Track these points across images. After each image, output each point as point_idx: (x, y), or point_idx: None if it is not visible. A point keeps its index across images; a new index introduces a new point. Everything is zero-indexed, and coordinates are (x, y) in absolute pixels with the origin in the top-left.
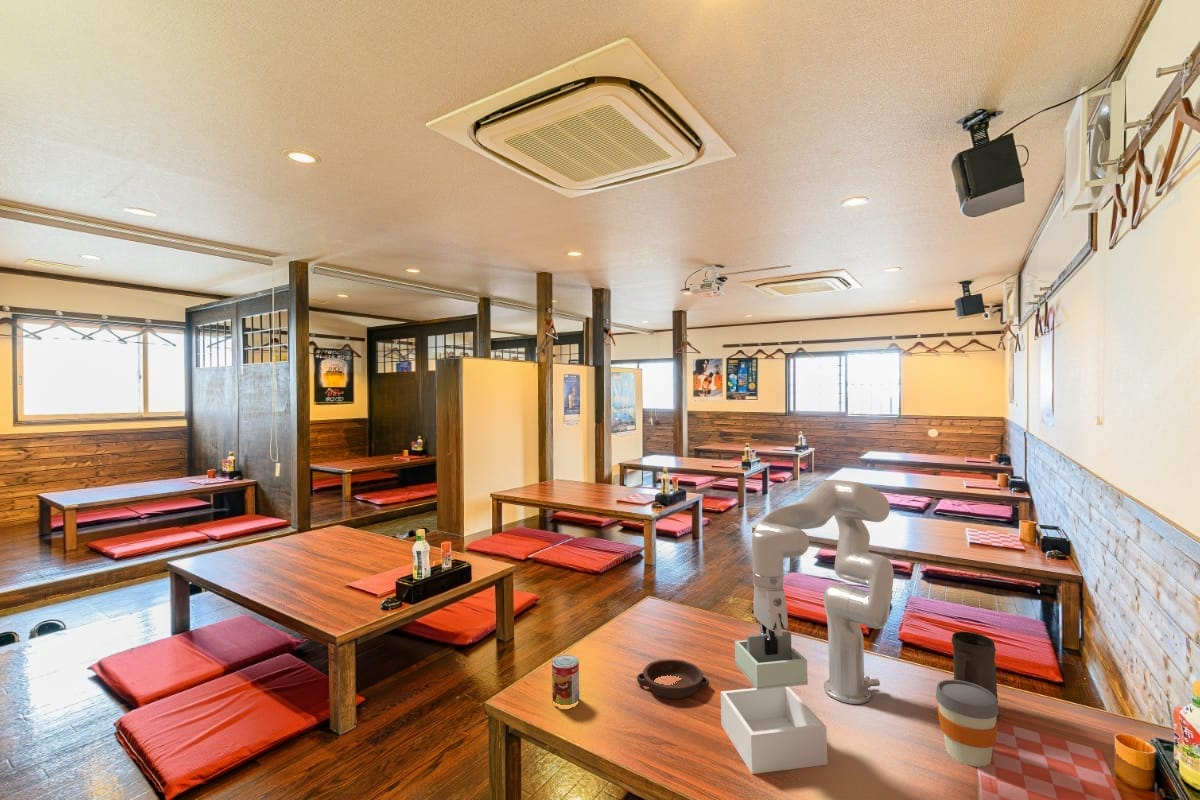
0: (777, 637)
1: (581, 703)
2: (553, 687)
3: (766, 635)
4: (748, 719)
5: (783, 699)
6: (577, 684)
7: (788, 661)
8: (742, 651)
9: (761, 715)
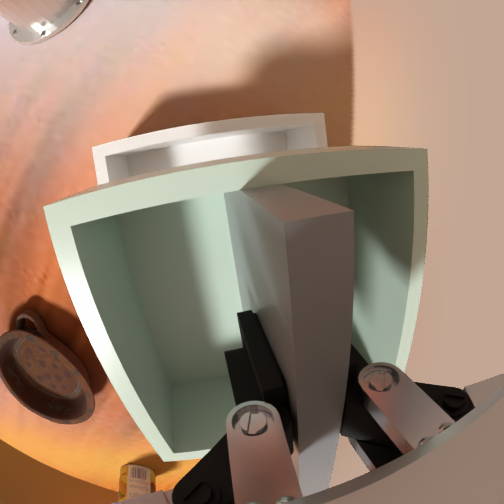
0: (421, 384)
1: (135, 462)
2: None
3: (356, 447)
4: None
5: (115, 161)
6: (140, 487)
7: (421, 267)
8: None
9: None
